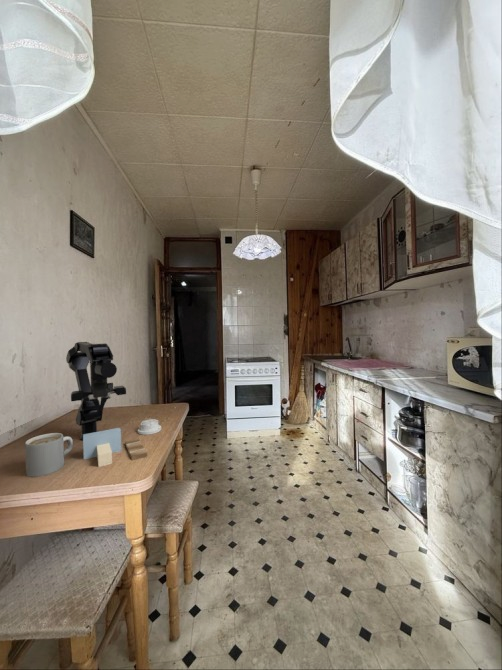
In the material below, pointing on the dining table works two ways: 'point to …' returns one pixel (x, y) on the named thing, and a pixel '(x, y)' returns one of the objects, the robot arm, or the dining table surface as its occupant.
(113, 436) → the light blue upright panel
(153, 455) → the dining table surface
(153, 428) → the mechanical component
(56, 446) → the coffee mug
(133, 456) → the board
